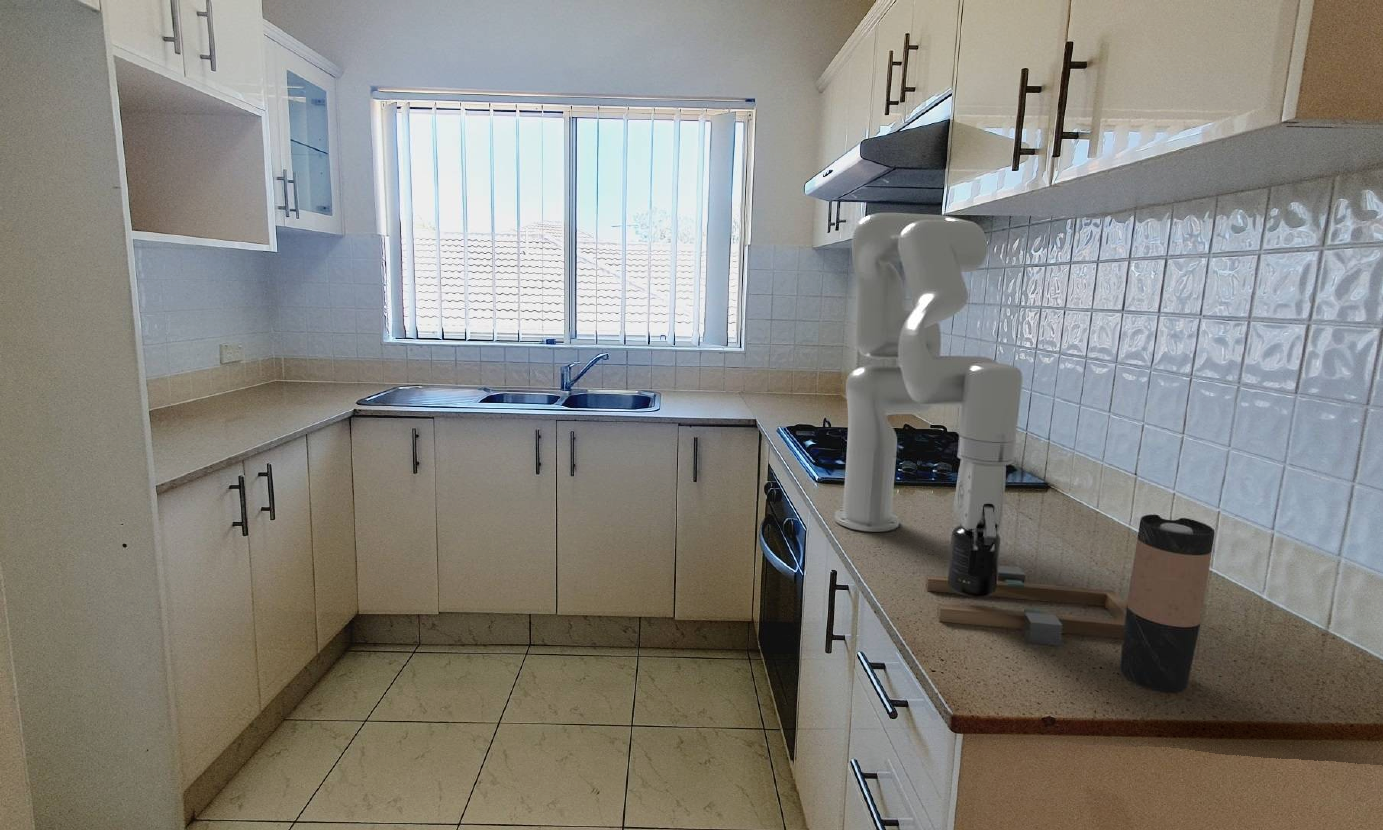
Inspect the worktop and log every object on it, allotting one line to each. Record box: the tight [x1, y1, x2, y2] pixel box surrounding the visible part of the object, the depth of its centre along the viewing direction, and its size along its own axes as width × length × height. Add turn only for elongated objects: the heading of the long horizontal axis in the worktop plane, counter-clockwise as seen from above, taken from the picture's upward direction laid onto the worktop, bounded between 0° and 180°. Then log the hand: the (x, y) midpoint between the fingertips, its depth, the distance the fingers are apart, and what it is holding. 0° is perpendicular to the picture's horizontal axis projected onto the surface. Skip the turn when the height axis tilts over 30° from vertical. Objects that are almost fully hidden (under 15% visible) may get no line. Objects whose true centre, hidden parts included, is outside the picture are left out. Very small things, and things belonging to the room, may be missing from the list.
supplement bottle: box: [947, 524, 1002, 598], centre depth 107 cm, size 7×7×12 cm
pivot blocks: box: [997, 565, 1063, 647], centre depth 107 cm, size 20×4×3 cm, turn 171°
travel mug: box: [1119, 513, 1216, 694], centre depth 88 cm, size 8×8×20 cm
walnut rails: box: [925, 574, 1127, 639], centre depth 107 cm, size 12×28×2 cm, turn 81°
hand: (973, 564), depth 107 cm, fingers closed on supplement bottle, 6 cm apart
